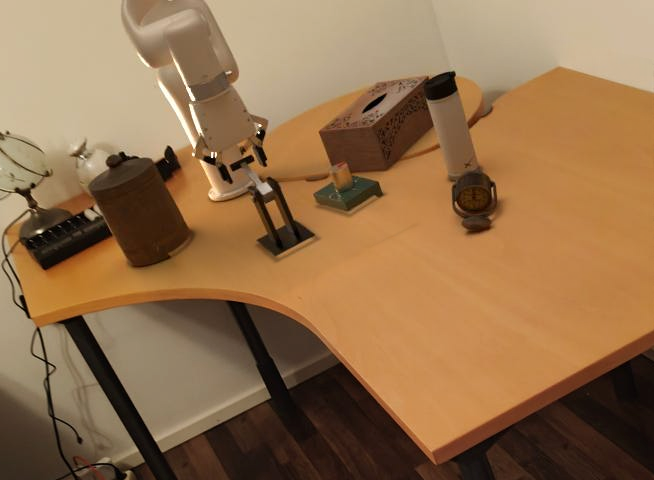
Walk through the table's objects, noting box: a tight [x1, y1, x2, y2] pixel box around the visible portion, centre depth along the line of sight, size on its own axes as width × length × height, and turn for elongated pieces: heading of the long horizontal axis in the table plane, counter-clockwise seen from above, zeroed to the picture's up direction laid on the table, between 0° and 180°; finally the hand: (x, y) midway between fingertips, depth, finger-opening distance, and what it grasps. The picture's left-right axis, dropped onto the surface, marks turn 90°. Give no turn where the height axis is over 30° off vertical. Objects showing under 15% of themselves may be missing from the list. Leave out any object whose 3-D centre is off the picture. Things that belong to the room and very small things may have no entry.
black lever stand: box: [247, 175, 316, 257], centre depth 165 cm, size 11×9×13 cm
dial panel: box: [312, 174, 384, 212], centre depth 175 cm, size 12×9×3 cm
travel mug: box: [423, 70, 480, 182], centre depth 164 cm, size 6×7×20 cm
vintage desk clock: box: [450, 170, 498, 232], centre depth 151 cm, size 7×13×10 cm
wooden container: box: [87, 154, 191, 267], centre depth 180 cm, size 15×15×22 cm
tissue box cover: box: [318, 75, 434, 173], centre depth 193 cm, size 26×14×10 cm, turn 150°
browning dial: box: [328, 162, 354, 192], centre depth 173 cm, size 4×4×5 cm
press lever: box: [229, 153, 275, 205], centre depth 165 cm, size 12×5×2 cm, turn 29°
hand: (246, 173), depth 169 cm, fingers open, 7 cm apart
